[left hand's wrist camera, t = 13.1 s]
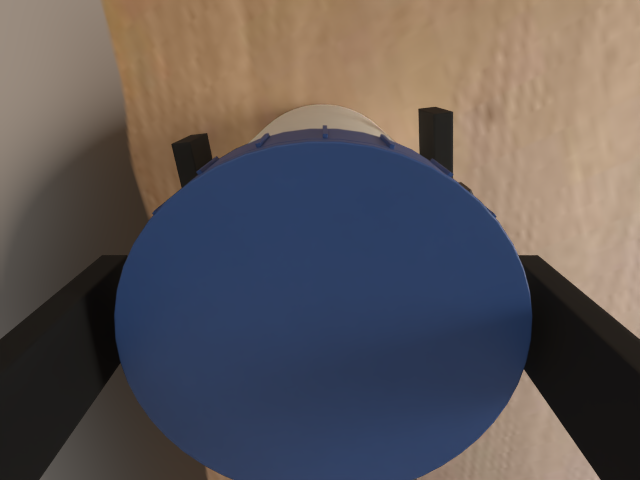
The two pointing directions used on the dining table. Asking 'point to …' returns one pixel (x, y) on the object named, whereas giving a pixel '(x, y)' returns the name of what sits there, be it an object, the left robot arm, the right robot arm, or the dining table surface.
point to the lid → (323, 312)
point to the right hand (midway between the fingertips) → (310, 124)
